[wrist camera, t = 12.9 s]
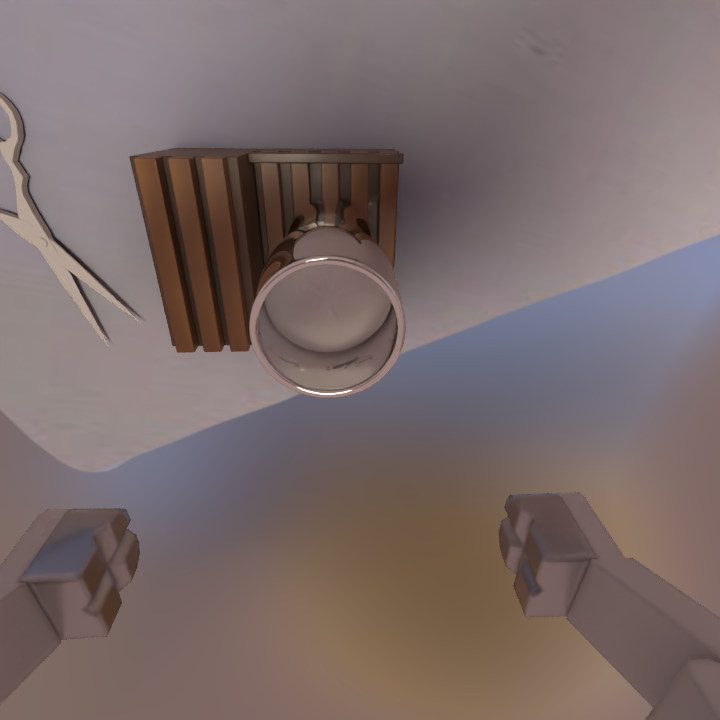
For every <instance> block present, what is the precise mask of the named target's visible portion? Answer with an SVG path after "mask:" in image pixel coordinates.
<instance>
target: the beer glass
mask: <svg viewBox="0 0 720 720" xmlns="http://www.w3.org/2000/svg"><path fill="white" fill-rule="evenodd" d="M249 331H250V338H251V343H252V346H253V349H254V351H255V354H256V356H257V358H258V359H259V361H260V363H261V364H262V366H263V367H264V368H265V369H266V371H267V372H268V373H269V374H270V375H271V376H272V377H273V378H275V379H276V380H277V381H278V382H280V383H281V384H283V385H284V386H286V387H288V388H290V389H292V390H294V391H296V392H299V393H302V394H306V395H309V396H314V397H325V398H332V397H342V396H347V395H351V394H354V393H357V392H360V391H362V390H365V389H366V388H368V387H370V386H372V385H373V384H375V383H376V382H378V381H379V380H380V379H381V378H383V377H384V376H385V375H386V374H387V373H388V372H389V370H390V369H391V368H392V367H393V365H394V364H395V362H396V360H397V359H398V357H399V355H400V353H401V350H402V347H403V344H404V339H405V331H406V324H405V316H404V311H403V308H402V302H401V297H400V291H399V287H398V283H397V280H396V277H395V273H394V271H393V268H392V266H391V264H390V262H389V260H388V258H387V257H386V255H385V253H384V252H383V250H382V249H381V248H380V246H379V245H378V244H377V243H376V242H375V241H374V240H373V239H372V235H371V231H370V228H369V226H368V224H367V222H366V220H365V219H364V217H363V216H362V215H361V214H360V213H359V212H358V211H357V210H356V209H355V208H353V207H352V206H350V205H348V204H346V203H344V202H341V201H336V200H323V201H318V202H315V203H312V204H310V205H308V206H307V207H305V208H304V209H302V210H301V211H300V212H299V213H298V215H297V216H296V217H295V219H294V220H293V222H292V224H291V226H290V229H289V232H288V235H287V236H286V237H285V238H284V239H283V240H282V241H281V242H280V243H279V244H278V245H277V246H276V247H275V249H274V250H273V252H272V253H271V255H270V257H269V258H268V260H267V262H266V264H265V266H264V268H263V271H262V273H261V276H260V279H259V282H258V285H257V290H256V294H255V299H254V303H253V306H252V309H251V314H250V321H249Z"/></svg>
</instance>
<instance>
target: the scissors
mask: <svg viewBox="0 0 720 720" xmlns="http://www.w3.org/2000/svg"><path fill="white" fill-rule="evenodd" d="M0 105H1V106H2V107H3V109H4V110H5V111H6V113H7V114H8V115H9V117H10V123H11V131H12V132H11V137H10V138H9V139H7V140H6V141H3V140H1V139H0V151H1V152H2V156H3V158H4V159H5V161H6V162H7V163H8V165H9V166H10V167H11V169H12V173H13V177H14V181H15V186H16V193H17V210H18V215H15V214H12V213H9V212H6V211H3V210H0V220H2V221H3V222H4V223H5V224H6V225H7V226H9V227H10V228H11V229H12V230H13V231H15V232H16V233H17V234H18V235H20V236H21V237H22V238H24V239H25V240H27V241H28V242H30V243H31V244H33V245H34V246H36V247H37V248H38V249H39V250H40V252H41V253H42V255H43V256H44V258H45V259H46V261H47V262H48V264H49V265H50V267H51V268H52V270H53V271H54V273H55V274H56V276H57V277H58V279H59V280H60V282H61V283H62V285H63V286H64V288H65V289H66V290H67V292H68V293H69V295H70V296H71V297H72V299H73V300H74V302H75V303H76V304H77V306H78V307H79V308H80V310H81V311H82V312H83V314H84V315H85V317H86V318H87V319H88V321H89V322H90V324H91V325H92V326H93V328H94V329H95V331H96V332H97V333H98V334H99V336H100V337H101V338H102V339H103V341H104V342H105V343H106V344H107V342H106V340H105V338H104V336H103V334H102V333H101V331H100V329H99V327H98V325H97V323H96V321H95V319H94V317H93V315H92V313H91V312H90V310H89V308H88V306H87V304H86V303H85V301H84V299H83V297H82V295H81V294H80V292H79V290H78V288H77V286H76V284H75V282H74V280H73V278H72V276H71V274H70V272H71V273H73V274H74V275H75V276H77V277H78V278H79V279H81V280H82V281H83V282H85V283H86V284H87V285H89V286H90V287H91V288H93V289H94V290H96V291H97V292H98V293H100V294H101V295H102V296H104V297H105V298H107V299H108V300H109V301H111V302H112V303H114V304H115V305H116V306H118V307H119V308H120V309H122V310H123V311H125V312H126V313H127V314H129V315H130V316H132V317H133V318H134V319H136V320H137V321H138V322H140V321H139V320H138V319H137V318H136V317H135V316H134V315H133V314H132V313H131V312H130V311H129V310H128V309H127V308H125V307H124V306H123V305H122V304H121V303H120V302H119V301H118V300H117V299H116V298H115V297H114V296H113V295H112V294H111V293H110V292H109V291H108V290H107V289H106V288H105V287H104V286H103V285H102V284H101V283H100V282H99V281H98V280H97V279H96V278H94V277H93V276H92V275H91V274H90V273H89V272H88V271H87V270H86V269H85V268H84V267H83V266H82V265H81V264H79V263H78V262H77V261H76V260H75V259H74V258H73V257H72V256H71V255H70V254H69V253H67V252H66V251H65V250H64V249H63V248H62V247H61V246H60V245H59V244H58V243H57V242H56V241H54V239H53V237H52V235H51V233H50V231H49V229H48V227H47V226H46V224H45V222H44V221H43V219H42V218H41V216H40V214H39V213H38V211H37V209H36V207H35V205H34V203H33V201H32V199H31V198H30V196H29V194H28V189H27V183H28V178H29V177H28V175H27V174H26V172H25V171H24V169H23V168H22V166H21V165H20V163H19V162H18V158H19V152H20V147H21V145H22V143H23V138H24V134H23V124H22V120H21V118H20V115H19V113H18V111H17V110H16V108H15V107H14V106H13V104H12V103H11V102H10V101H9V100H8V99H7V98H6V97H5V96H4V95H3V94H1V93H0ZM68 270H69V271H70V272H69V271H68ZM140 323H141V322H140ZM141 324H142V323H141ZM107 345H108V344H107ZM108 347H109V346H108Z"/></svg>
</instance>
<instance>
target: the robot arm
mask: <svg viewBox="0 0 720 720" xmlns="http://www.w3.org/2000/svg"><path fill="white" fill-rule="evenodd" d="M505 510H506V512H507V514H508V516H507V517H506V518H505V519H503V520H502V521H501V524H500V529H499V543H500V549H501V553H502V556H503V559H504V562H505V564H506V567H508V568H509V569H510V570H511V571H512V572H514V574H516V579H515V582H514V589H515V591H516V594H517V596H518V599H519V601H520V604H521V606H522V609H523V612H524V614H525V617H553V616H554V617H556V616H557V617H559V616H567V618H566V619H567V620H568V621H569V622H570V623H571V624H572V625H573V626H574V627H575V628H576V629H577V630H578V631H579V632H580V633H581V634H582V635H583V636H584V637H585V638H586V639H587V640H588V641H589V642H590V643H591V644H592V645H593V646H594V647H595V649H596V650H598V651H599V652H600V654H601V655H602V656H603V657H604V658H605V659H606V660H607V661H608V662H609V663H610V664H611V665H612V666H613V667H614V668H615V669H616V670H617V671H618V672H619V673H620V674H621V675H622V676H623V677H624V678H625V679H626V680H627V681H628V682H629V683H630V684H631V685H632V686H633V687H634V689H635V690H637V692H638V693H639V694H640V695H641V696H642V697H643V698H644V699H645V700H646V701H647V702H648V703H649V704H650V705H651V706H652V707H653V709H652V711H651V712H650V714H649V715H648V716H647V718H646V719H645V720H720V617H718V616H717V615H715V614H714V613H712V612H711V611H709V610H708V609H706V608H705V607H704V606H702V605H701V604H699V603H698V602H696V601H695V600H693V599H692V598H690V597H689V596H687V595H686V594H685V593H683V592H682V591H680V590H678V589H677V588H676V587H674V586H673V585H671V584H670V583H668V582H667V581H666V580H664V579H663V578H661V577H660V576H658V575H657V574H655V573H654V572H652V571H651V570H649V569H648V568H646V567H645V566H644V565H642V564H641V563H639V562H637V561H636V560H635V559H633V558H625V557H624V556H623V554H622V552H621V551H620V549H619V548H618V547H617V545H616V543H615V542H614V541H613V539H612V537H611V536H610V534H609V533H608V531H607V530H606V528H605V527H604V526H603V524H602V522H601V521H600V519H599V518H598V516H597V515H596V514H595V512H594V510H593V509H592V507H591V506H590V504H589V503H588V501H587V500H586V499H585V497H584V496H583V495H582V494H580V493H579V492H575V493H555V494H554V493H543V494H521V495H510V496H509V497H508V498H507V500H506V504H505ZM129 523H130V517H129V515H128V513H127V510H126V509H120V508H118V509H117V508H115V509H47V510H46V511H44V512H43V513H41V514H40V515H39V516H38V517H37V518H36V519H35V521H34V522H33V523H32V525H31V526H30V527H29V529H28V530H27V531H26V533H25V534H24V535H23V537H22V538H21V539H20V541H19V542H18V543H17V545H16V546H15V547H14V549H13V550H12V551H11V553H10V554H9V555H8V557H7V558H6V559H5V561H4V562H3V563H2V564H1V566H0V704H1V703H2V702H3V701H4V700H5V699H6V698H7V697H8V696H9V695H10V694H11V693H12V692H13V691H14V690H15V689H16V688H17V687H18V686H19V685H20V684H21V683H22V682H23V681H24V680H25V679H26V678H27V677H28V676H29V675H30V674H31V673H32V672H33V671H34V670H35V669H36V668H37V667H38V666H39V665H40V664H41V663H42V662H43V661H44V660H45V659H46V658H47V657H48V656H49V655H50V654H51V653H52V652H53V651H54V650H55V649H56V648H57V647H58V646H59V645H60V644H61V640H67V639H80V638H94V637H107V635H108V633H109V631H110V629H111V626H112V624H113V622H114V620H115V617H116V615H117V613H118V610H119V608H120V606H121V604H122V601H121V598H120V595H119V592H120V591H121V590H122V589H123V588H124V587H126V586H127V585H128V584H129V583H130V582H131V581H132V579H133V576H134V574H135V571H136V569H137V565H138V560H139V554H140V551H139V541H138V539H137V536H136V534H135V533H133V532H132V531H130V530H129V529H127V527H128V525H129Z"/></svg>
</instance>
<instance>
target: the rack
mask: <svg viewBox="0 0 720 720" xmlns="http://www.w3.org/2000/svg"><path fill="white" fill-rule="evenodd" d="M403 157H404V154H402V153H399V152H398V151H396V150H394V149H234V148H173V149H168V150H162V151H156V152H151V153H145V154H139V155H134V156H130V161H131V165H132V170H133V174H134V179H135V183H136V187H137V192H138V196H139V200H140V205H141V209H142V214H143V218H144V222H145V227H146V231H147V235H148V240H149V244H150V249H151V253H152V257H153V262H154V266H155V271H156V275H157V279H158V284H159V288H160V292H161V297H162V301H163V306H164V310H165V314H166V319H167V323H168V327H169V332H170V336H171V341H172V345H173V346H176V350H177V352H195V351H196V349H197V347H198V346H203V348H204V352H221V351H222V349H223V347H224V345H230V349H231V351H232V352H233V351H249V348H250V345H252V343H251V338H250V331H249V321H250V314H251V309H252V306H253V303H254V299H255V294H256V290H257V285H258V282H259V279H260V276H261V273H262V271H263V268H264V266H265V264H266V262H267V260H268V258H269V257H270V255H271V253H272V252H273V250H274V249H275V247H276V246H277V245H278V244H279V243H280V242H281V241H282V240H283V239H284V238H285V237H286V236H287V235H288V232H289V229H290V226H291V224H292V222H293V220H294V219H295V217H296V216H297V215H298V213H299V212H300V211H301V210H302V209H304V208H305V207H307V206H308V205H310V204H312V203H315V202H318V201H323V200H336V201H341V202H344V203H346V204H348V205H350V206H352V207H353V208H355V209H356V210H357V211H358V212H359V213H360V214H361V215H362V216H363V217H364V219H365V220H366V222H367V224H368V226H369V228H370V231H371V235H372V239H373V240H374V241H375V242H376V243H377V244H378V245H379V246H380V248H381V249H382V250H383V252H384V253H385V255H386V257H387V258H388V260H389V262H390V264H391V266H392V268H393V271H394V258H395V237H396V216H397V194H398V173H399V164H403Z"/></svg>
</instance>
